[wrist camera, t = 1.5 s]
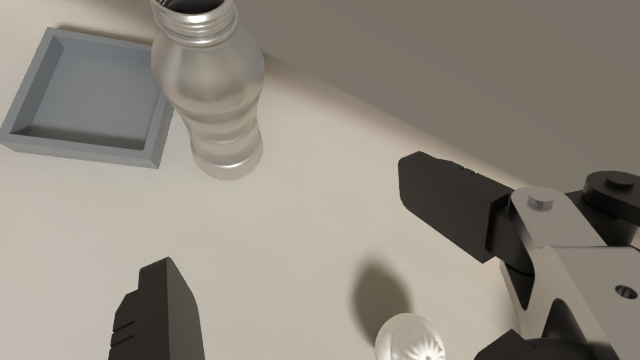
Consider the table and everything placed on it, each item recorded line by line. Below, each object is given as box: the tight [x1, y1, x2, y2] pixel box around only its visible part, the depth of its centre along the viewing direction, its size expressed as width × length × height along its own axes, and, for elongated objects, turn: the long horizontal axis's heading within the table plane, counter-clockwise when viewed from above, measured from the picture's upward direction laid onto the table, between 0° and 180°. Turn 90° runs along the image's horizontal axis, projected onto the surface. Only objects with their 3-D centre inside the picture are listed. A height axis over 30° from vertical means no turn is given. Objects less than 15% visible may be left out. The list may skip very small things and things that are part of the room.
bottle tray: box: [0, 27, 174, 169], centre depth 30 cm, size 13×13×2 cm
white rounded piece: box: [374, 313, 445, 360], centre depth 26 cm, size 6×6×7 cm
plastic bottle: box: [149, 0, 265, 180], centre depth 23 cm, size 6×7×20 cm
